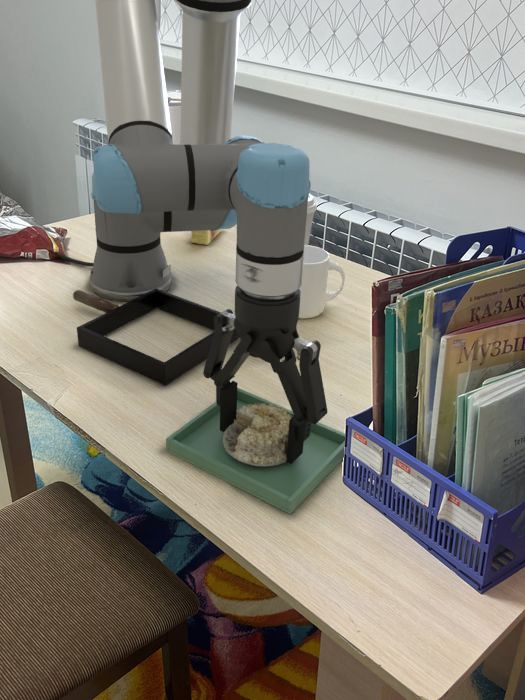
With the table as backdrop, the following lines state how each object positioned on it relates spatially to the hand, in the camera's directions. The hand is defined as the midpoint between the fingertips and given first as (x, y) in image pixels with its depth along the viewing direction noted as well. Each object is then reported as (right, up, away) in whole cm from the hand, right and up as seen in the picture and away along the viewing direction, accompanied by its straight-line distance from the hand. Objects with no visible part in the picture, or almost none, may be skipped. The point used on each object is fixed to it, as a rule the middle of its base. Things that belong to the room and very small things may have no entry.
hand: (260, 441), depth 90 cm
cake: (0, 0, 0) cm, 0 cm away
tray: (0, -1, +1) cm, 1 cm away
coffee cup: (+6, +29, +52) cm, 60 cm away
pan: (-21, +15, +26) cm, 37 cm away
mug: (+9, +19, +36) cm, 42 cm away
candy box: (-12, +37, +64) cm, 75 cm away
